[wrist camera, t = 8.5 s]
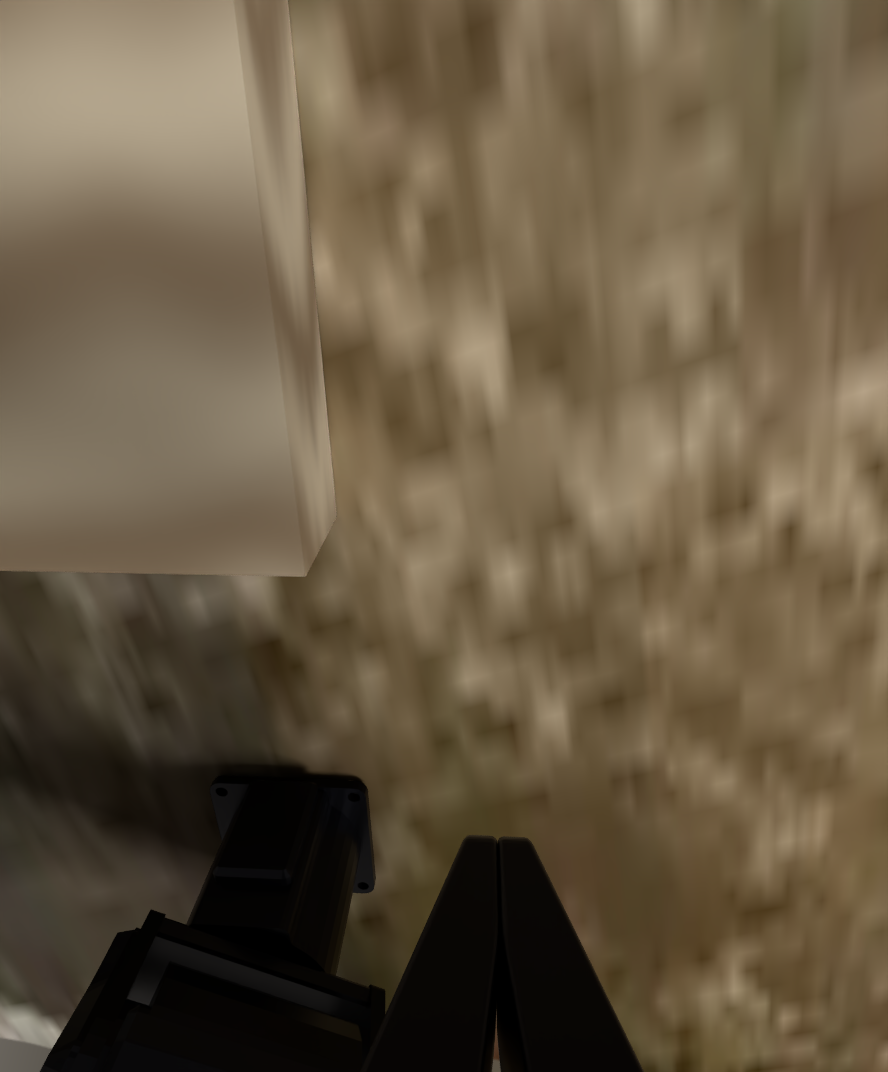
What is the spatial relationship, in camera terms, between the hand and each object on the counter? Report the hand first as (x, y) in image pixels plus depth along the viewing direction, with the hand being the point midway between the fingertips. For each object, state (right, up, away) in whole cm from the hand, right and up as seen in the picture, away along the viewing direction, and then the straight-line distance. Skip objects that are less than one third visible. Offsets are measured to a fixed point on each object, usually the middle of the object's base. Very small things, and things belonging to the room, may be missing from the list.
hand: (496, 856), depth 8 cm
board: (-12, +11, +10) cm, 19 cm away
